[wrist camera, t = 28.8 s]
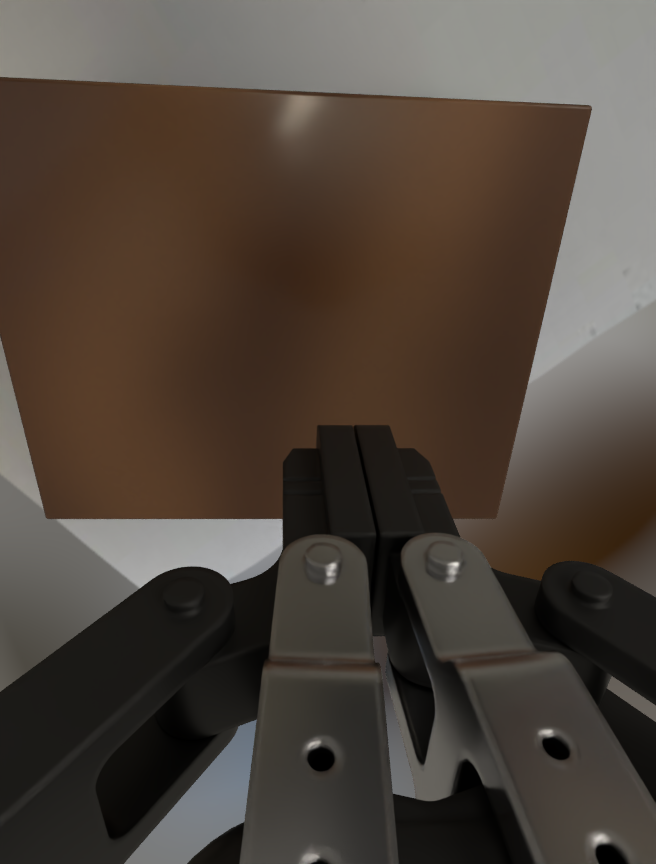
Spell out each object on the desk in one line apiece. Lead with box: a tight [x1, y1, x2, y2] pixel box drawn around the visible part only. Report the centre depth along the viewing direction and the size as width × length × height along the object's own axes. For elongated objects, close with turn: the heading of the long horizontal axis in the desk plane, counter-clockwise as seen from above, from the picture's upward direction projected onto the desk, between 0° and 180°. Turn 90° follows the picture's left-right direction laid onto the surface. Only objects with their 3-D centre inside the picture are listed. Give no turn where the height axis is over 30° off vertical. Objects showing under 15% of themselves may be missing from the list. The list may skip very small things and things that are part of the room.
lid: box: [0, 77, 592, 519], centre depth 18 cm, size 16×14×1 cm
